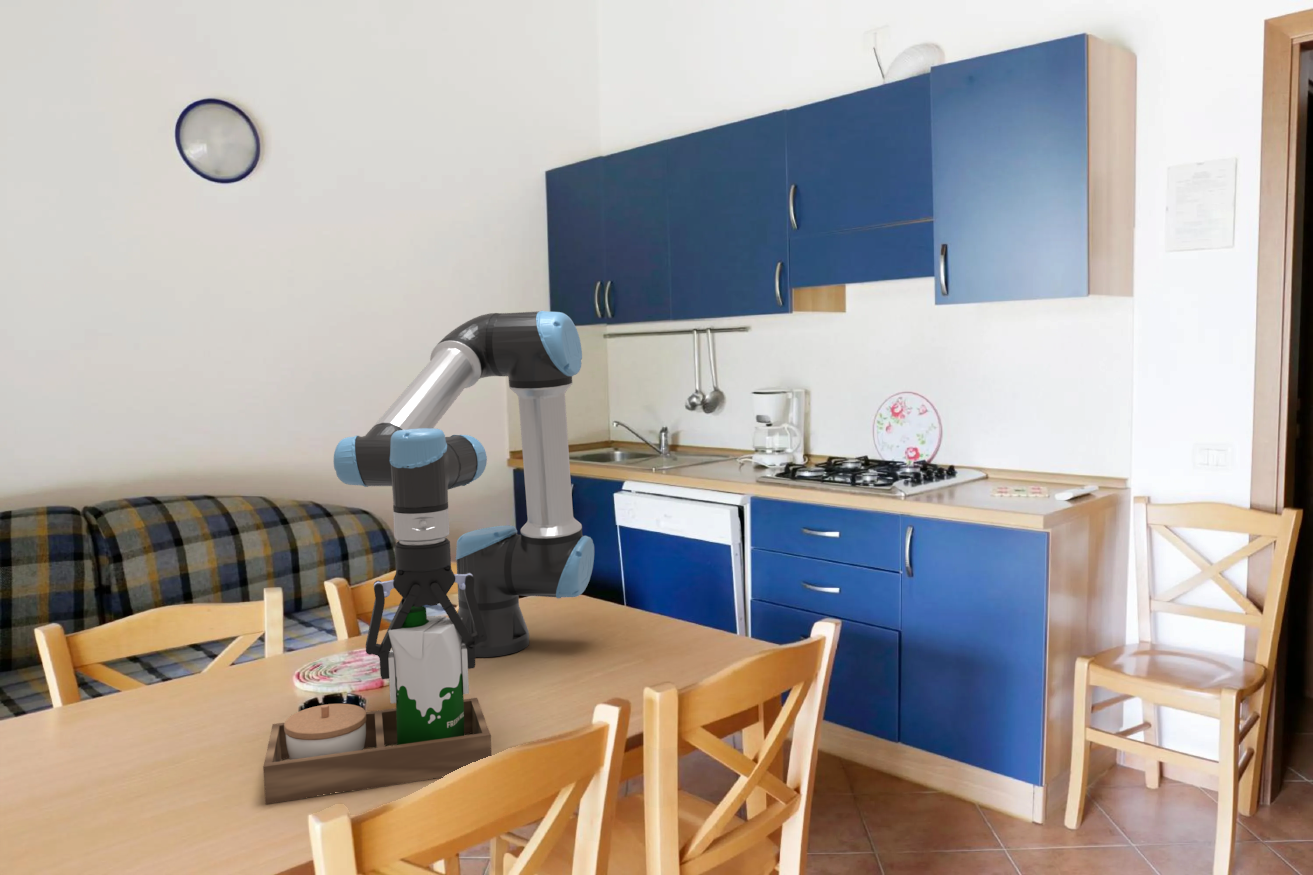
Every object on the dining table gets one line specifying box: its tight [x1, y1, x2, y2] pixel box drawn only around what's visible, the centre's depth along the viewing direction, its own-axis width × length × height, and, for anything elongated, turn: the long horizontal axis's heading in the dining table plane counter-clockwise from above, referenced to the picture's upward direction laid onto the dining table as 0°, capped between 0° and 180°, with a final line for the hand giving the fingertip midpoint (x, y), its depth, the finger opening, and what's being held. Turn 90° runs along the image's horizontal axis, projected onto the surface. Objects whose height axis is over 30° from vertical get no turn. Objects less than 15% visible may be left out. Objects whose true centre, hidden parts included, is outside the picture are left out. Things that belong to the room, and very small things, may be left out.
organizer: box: [262, 697, 492, 805], centre depth 134 cm, size 15×29×5 cm, turn 108°
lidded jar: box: [283, 703, 367, 760], centre depth 132 cm, size 11×11×9 cm
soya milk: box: [388, 605, 465, 745], centre depth 135 cm, size 9×9×20 cm
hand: (429, 695), depth 136 cm, fingers closed on soya milk, 9 cm apart
